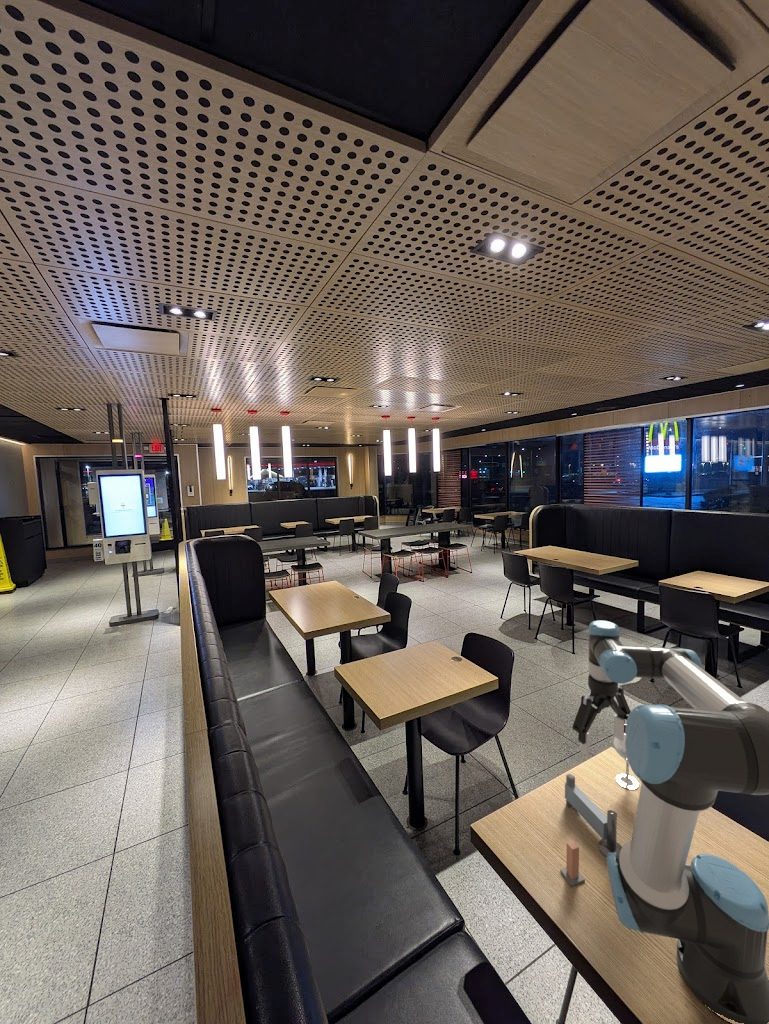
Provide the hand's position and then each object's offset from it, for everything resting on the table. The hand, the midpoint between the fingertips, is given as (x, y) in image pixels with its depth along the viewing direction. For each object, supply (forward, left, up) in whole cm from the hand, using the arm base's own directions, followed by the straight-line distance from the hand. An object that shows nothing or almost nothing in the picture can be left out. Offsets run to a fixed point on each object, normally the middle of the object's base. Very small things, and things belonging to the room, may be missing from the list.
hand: (601, 745), depth 120 cm
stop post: (-13, +21, -22) cm, 33 cm away
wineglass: (+7, -17, -22) cm, 28 cm away
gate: (-1, +6, -21) cm, 22 cm away
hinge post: (-10, +6, -22) cm, 25 cm away
